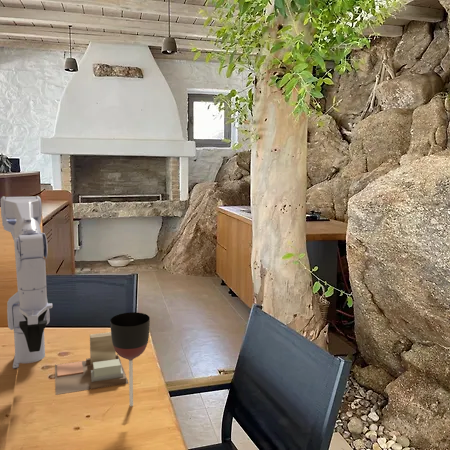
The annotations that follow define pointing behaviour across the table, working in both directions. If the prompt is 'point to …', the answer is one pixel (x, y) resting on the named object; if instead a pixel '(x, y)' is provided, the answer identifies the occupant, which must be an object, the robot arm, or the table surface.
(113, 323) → the wineglass
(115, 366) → the offcut upper
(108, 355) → the tan wooden block
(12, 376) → the table surface
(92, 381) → the offcut lower
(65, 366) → the walnut rack
